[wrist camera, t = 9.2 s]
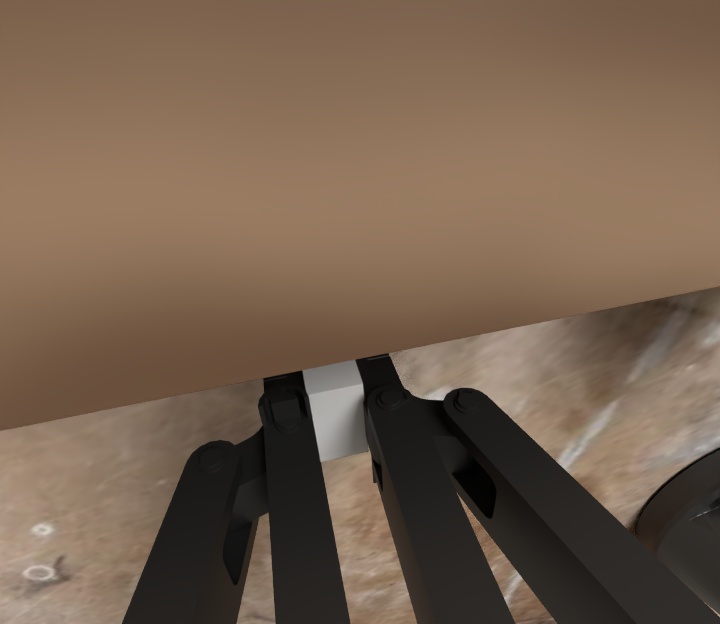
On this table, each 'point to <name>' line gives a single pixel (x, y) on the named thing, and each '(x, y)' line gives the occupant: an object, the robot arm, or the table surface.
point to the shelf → (335, 181)
